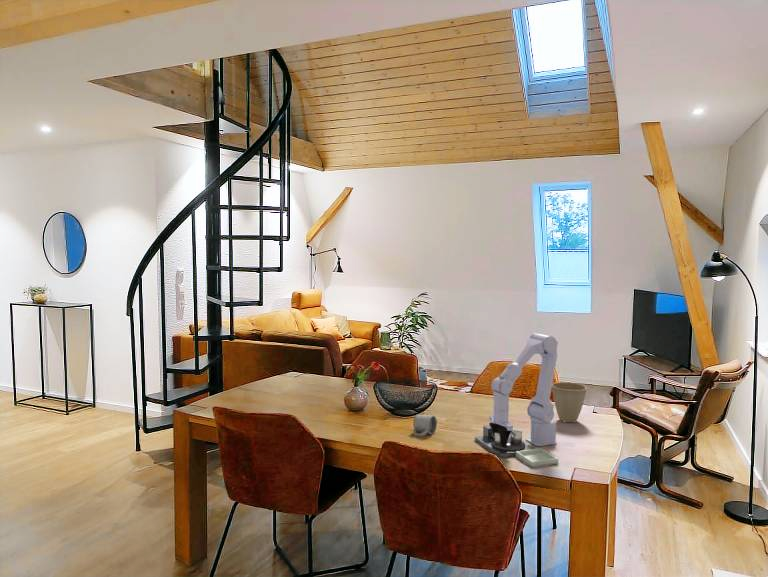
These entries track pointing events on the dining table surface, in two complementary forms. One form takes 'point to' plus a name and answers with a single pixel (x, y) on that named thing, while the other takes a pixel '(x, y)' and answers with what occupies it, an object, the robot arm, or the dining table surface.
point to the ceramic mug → (424, 424)
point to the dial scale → (500, 451)
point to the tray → (536, 457)
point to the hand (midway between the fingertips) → (500, 443)
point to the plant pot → (568, 400)
